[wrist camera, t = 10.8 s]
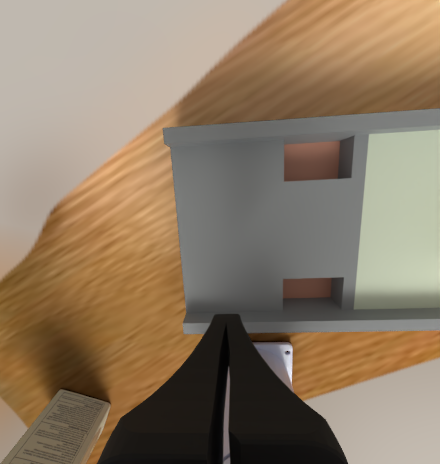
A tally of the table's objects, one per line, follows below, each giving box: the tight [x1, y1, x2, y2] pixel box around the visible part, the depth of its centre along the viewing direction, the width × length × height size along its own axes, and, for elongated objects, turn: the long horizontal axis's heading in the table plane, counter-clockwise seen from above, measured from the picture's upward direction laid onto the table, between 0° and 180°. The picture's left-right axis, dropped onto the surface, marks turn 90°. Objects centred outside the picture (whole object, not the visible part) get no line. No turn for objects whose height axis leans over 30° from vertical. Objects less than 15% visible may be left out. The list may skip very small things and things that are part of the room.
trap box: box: [163, 108, 440, 334], centre depth 17 cm, size 16×27×4 cm, turn 93°
